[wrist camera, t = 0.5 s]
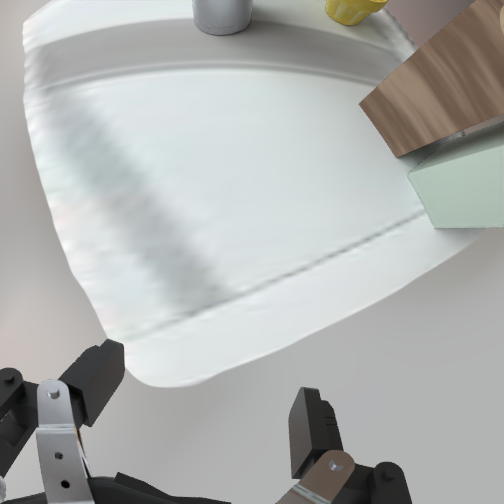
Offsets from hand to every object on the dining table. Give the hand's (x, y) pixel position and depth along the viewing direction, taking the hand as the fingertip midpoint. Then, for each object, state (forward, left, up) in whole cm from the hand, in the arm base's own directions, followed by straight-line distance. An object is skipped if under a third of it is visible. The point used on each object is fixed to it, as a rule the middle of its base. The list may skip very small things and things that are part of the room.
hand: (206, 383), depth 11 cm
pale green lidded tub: (-18, +35, -25) cm, 47 cm away
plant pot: (-49, +17, -25) cm, 58 cm away
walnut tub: (-28, +26, -25) cm, 46 cm away
